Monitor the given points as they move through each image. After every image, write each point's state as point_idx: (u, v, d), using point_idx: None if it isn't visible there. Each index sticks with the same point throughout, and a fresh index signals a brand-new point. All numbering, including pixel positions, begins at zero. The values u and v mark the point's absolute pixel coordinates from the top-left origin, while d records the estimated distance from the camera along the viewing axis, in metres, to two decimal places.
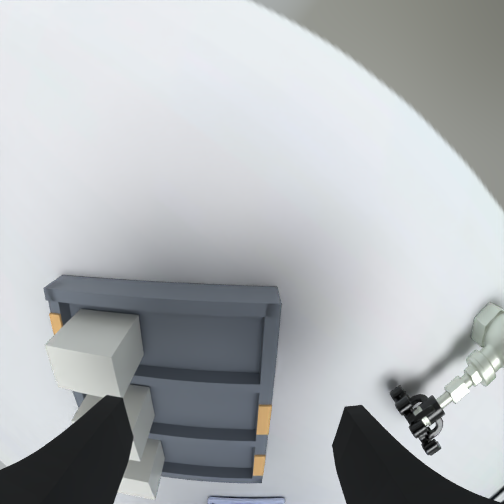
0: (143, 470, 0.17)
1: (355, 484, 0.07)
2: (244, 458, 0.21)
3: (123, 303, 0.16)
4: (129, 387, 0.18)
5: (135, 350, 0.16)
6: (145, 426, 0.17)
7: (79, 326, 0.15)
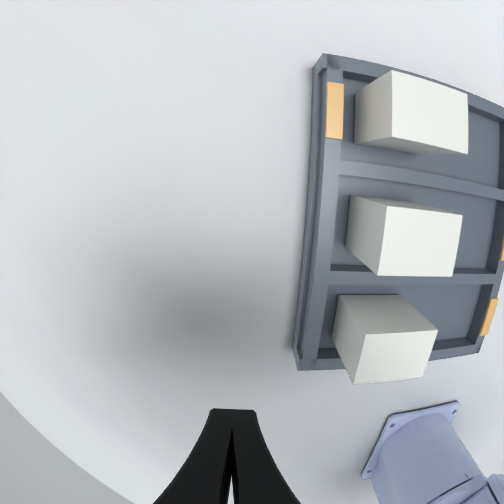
0: (419, 321, 0.14)
1: (234, 492, 0.07)
2: (466, 319, 0.18)
3: None
4: (397, 200, 0.15)
5: None
6: None
7: None
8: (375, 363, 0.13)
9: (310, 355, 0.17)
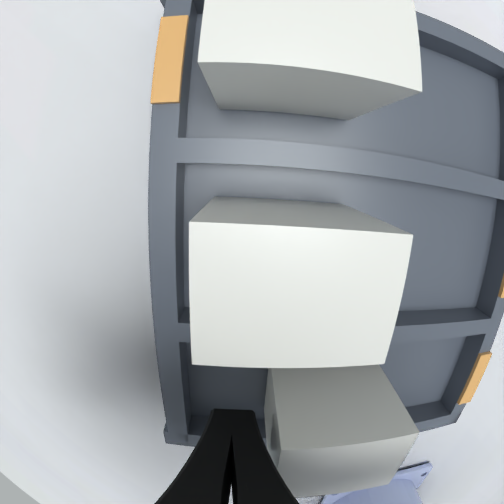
0: (391, 413, 0.08)
1: (233, 492, 0.07)
2: (440, 379, 0.12)
3: None
4: (303, 202, 0.09)
5: None
6: None
7: None
8: (305, 479, 0.07)
9: (177, 429, 0.11)
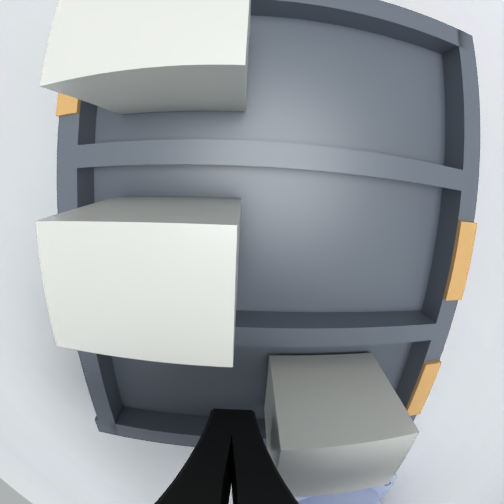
0: (391, 413, 0.08)
1: (233, 492, 0.07)
2: None
3: None
4: (195, 198, 0.09)
5: (247, 64, 0.07)
6: None
7: None
8: (305, 479, 0.07)
9: (105, 418, 0.11)
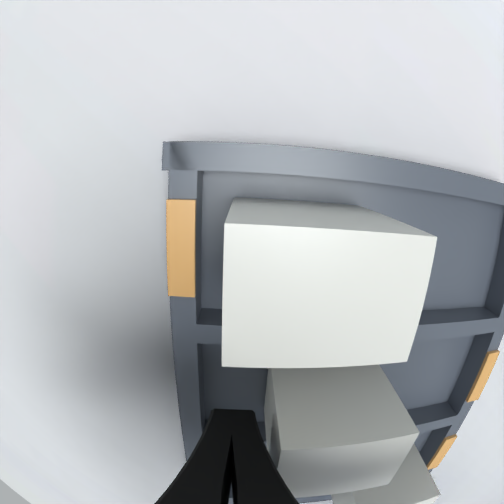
0: (423, 482, 0.09)
1: (233, 492, 0.07)
2: None
3: (361, 169, 0.08)
4: None
5: None
6: None
7: (274, 207, 0.07)
8: None
9: None
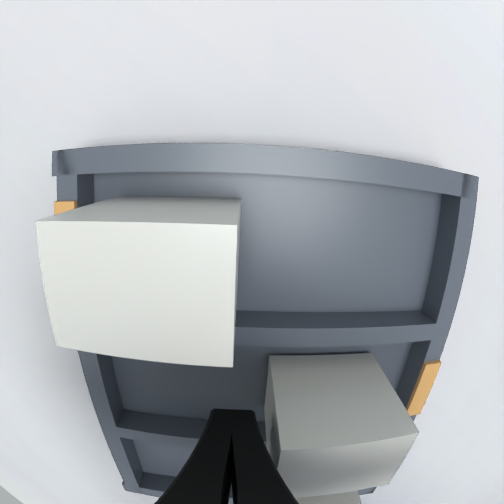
0: (347, 500, 0.09)
1: (233, 492, 0.07)
2: None
3: (225, 159, 0.08)
4: (341, 359, 0.11)
5: None
6: None
7: (121, 204, 0.07)
8: None
9: (131, 483, 0.12)
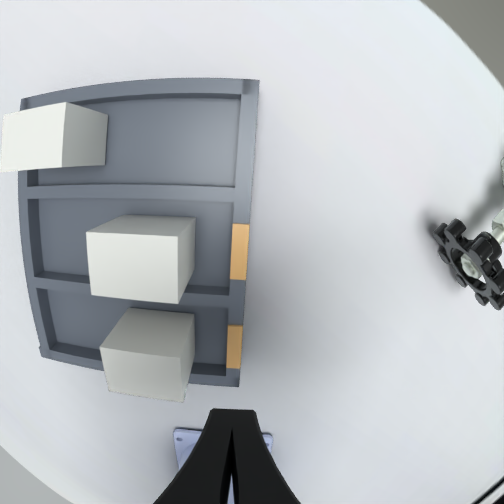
0: (172, 344, 0.14)
1: (235, 492, 0.07)
2: (216, 345, 0.18)
3: (95, 92, 0.13)
4: (169, 217, 0.16)
5: (95, 143, 0.14)
6: (187, 262, 0.14)
7: None
8: (120, 376, 0.13)
9: (44, 345, 0.17)
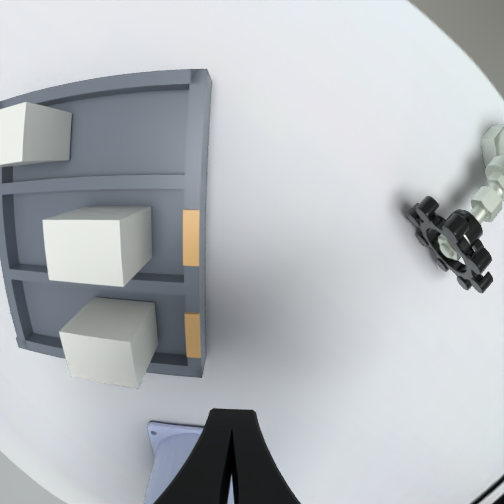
0: (126, 330, 0.14)
1: (235, 492, 0.07)
2: (179, 334, 0.18)
3: (59, 92, 0.13)
4: (126, 207, 0.16)
5: (58, 139, 0.14)
6: (139, 248, 0.14)
7: None
8: (79, 360, 0.13)
9: (20, 336, 0.17)
